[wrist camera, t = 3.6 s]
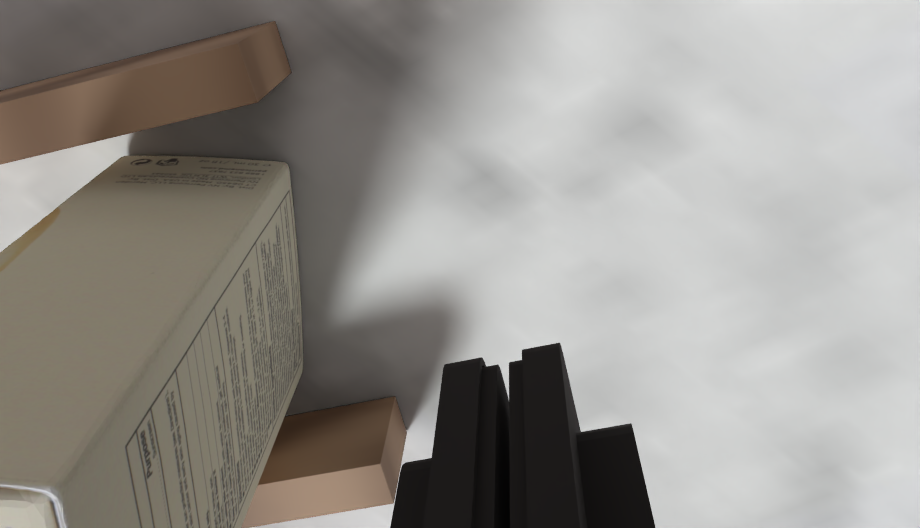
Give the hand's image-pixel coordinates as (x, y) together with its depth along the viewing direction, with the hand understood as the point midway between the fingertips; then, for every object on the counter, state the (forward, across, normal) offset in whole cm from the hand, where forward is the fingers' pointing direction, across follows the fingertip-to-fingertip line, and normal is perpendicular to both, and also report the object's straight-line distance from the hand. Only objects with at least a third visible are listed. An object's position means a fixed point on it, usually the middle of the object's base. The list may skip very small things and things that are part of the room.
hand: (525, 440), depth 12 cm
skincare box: (+10, +8, 0) cm, 13 cm away
